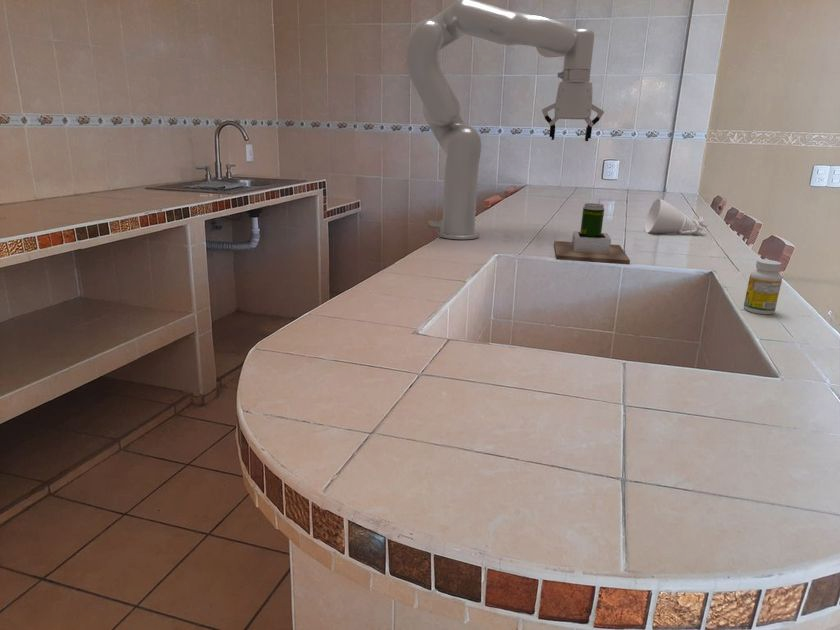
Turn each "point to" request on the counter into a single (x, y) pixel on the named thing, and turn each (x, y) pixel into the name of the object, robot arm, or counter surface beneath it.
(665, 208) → the rocket engine
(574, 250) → the cap board
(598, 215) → the beer can
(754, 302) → the supplement bottle
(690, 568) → the counter surface
